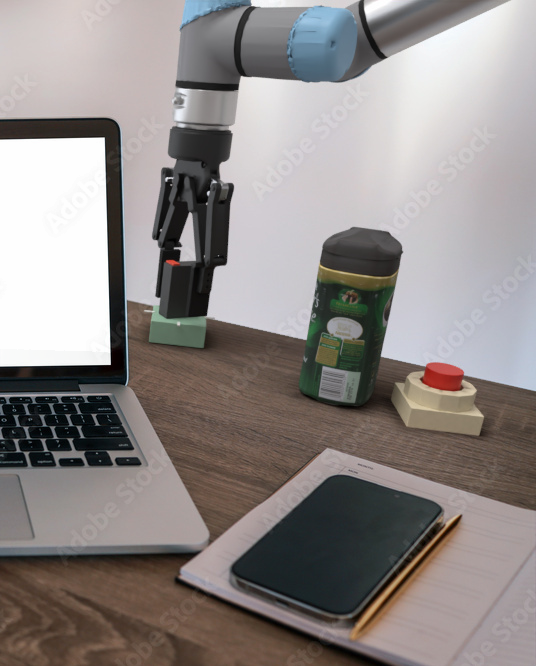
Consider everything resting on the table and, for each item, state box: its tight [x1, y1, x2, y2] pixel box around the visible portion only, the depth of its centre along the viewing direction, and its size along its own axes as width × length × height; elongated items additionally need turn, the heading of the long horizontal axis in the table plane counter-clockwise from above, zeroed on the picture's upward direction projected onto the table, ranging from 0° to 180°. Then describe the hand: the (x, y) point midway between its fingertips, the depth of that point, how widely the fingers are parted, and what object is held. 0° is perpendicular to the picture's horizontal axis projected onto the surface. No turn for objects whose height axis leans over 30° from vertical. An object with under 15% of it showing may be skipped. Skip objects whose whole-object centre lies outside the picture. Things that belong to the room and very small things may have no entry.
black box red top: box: [158, 260, 196, 318], centre depth 101 cm, size 5×2×7 cm, turn 109°
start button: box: [422, 361, 465, 392], centre depth 81 cm, size 4×4×2 cm
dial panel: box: [143, 304, 216, 349], centre depth 102 cm, size 9×9×3 cm
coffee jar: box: [298, 226, 404, 407], centre depth 85 cm, size 10×8×19 cm
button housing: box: [390, 370, 485, 437], centre depth 82 cm, size 7×7×4 cm
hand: (180, 305), depth 102 cm, fingers open, 7 cm apart
